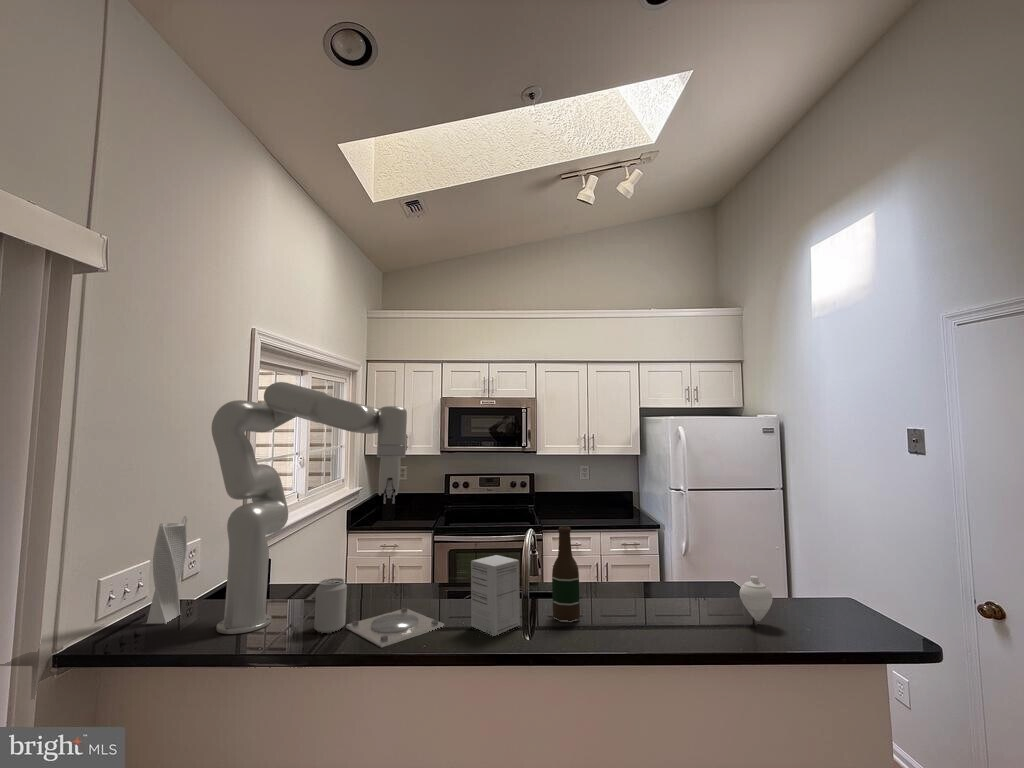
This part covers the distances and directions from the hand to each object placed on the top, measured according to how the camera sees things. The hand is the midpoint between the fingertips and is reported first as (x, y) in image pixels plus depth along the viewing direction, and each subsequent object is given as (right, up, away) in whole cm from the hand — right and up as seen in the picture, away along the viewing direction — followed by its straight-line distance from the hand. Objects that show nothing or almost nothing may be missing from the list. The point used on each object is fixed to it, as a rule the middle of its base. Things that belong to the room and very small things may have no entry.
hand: (388, 517), depth 124 cm
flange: (+2, -28, -3) cm, 28 cm away
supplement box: (+29, -28, -3) cm, 40 cm away
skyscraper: (-63, -30, +4) cm, 70 cm away
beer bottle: (+48, -29, +3) cm, 56 cm away
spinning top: (+96, -27, -3) cm, 100 cm away
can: (-14, -28, -4) cm, 32 cm away
